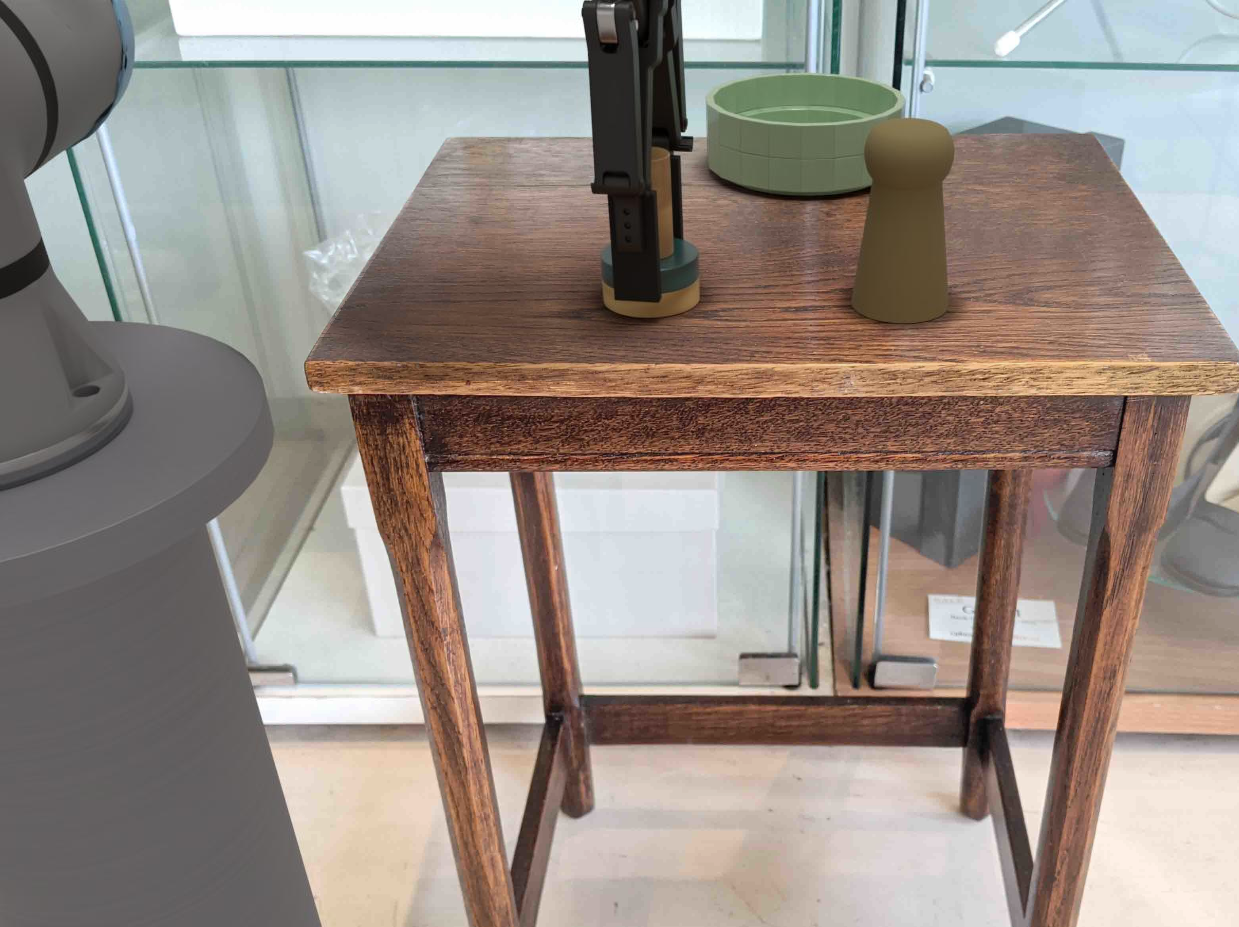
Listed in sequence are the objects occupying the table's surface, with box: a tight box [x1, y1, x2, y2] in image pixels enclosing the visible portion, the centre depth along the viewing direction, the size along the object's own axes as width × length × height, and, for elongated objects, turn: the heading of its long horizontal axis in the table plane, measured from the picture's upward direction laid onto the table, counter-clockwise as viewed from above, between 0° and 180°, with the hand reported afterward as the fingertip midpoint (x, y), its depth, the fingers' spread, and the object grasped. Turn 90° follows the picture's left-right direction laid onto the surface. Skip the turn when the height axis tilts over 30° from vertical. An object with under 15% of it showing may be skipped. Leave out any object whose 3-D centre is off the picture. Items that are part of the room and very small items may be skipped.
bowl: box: [705, 72, 907, 197], centre depth 101 cm, size 15×15×6 cm
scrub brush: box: [599, 147, 701, 319], centre depth 79 cm, size 6×6×9 cm
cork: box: [850, 117, 956, 324], centre depth 77 cm, size 6×6×11 cm
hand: (650, 277), depth 80 cm, fingers closed on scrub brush, 6 cm apart
